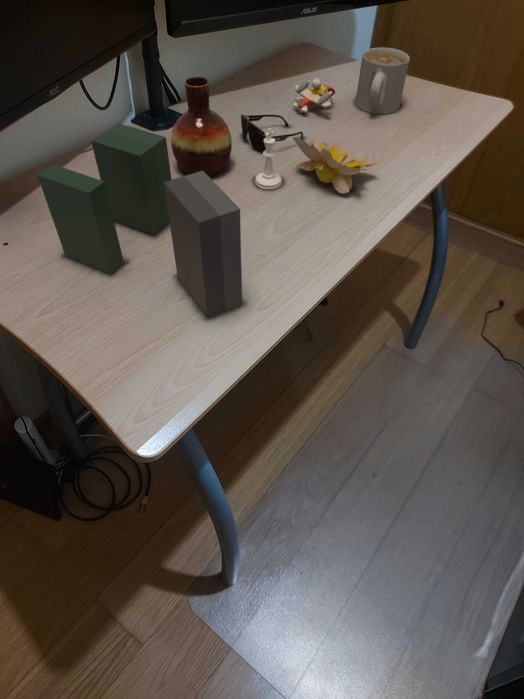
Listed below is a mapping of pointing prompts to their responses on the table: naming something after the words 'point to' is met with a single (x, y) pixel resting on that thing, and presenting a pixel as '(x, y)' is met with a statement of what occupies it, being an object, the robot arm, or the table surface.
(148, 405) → the table surface
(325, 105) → the toy airplane
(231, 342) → the table surface
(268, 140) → the chess piece
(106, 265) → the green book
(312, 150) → the decorative flower
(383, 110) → the coffee mug
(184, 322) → the table surface
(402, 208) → the table surface
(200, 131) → the vase
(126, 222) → the green rectangular block
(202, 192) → the grey faceted block
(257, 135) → the sunglasses
